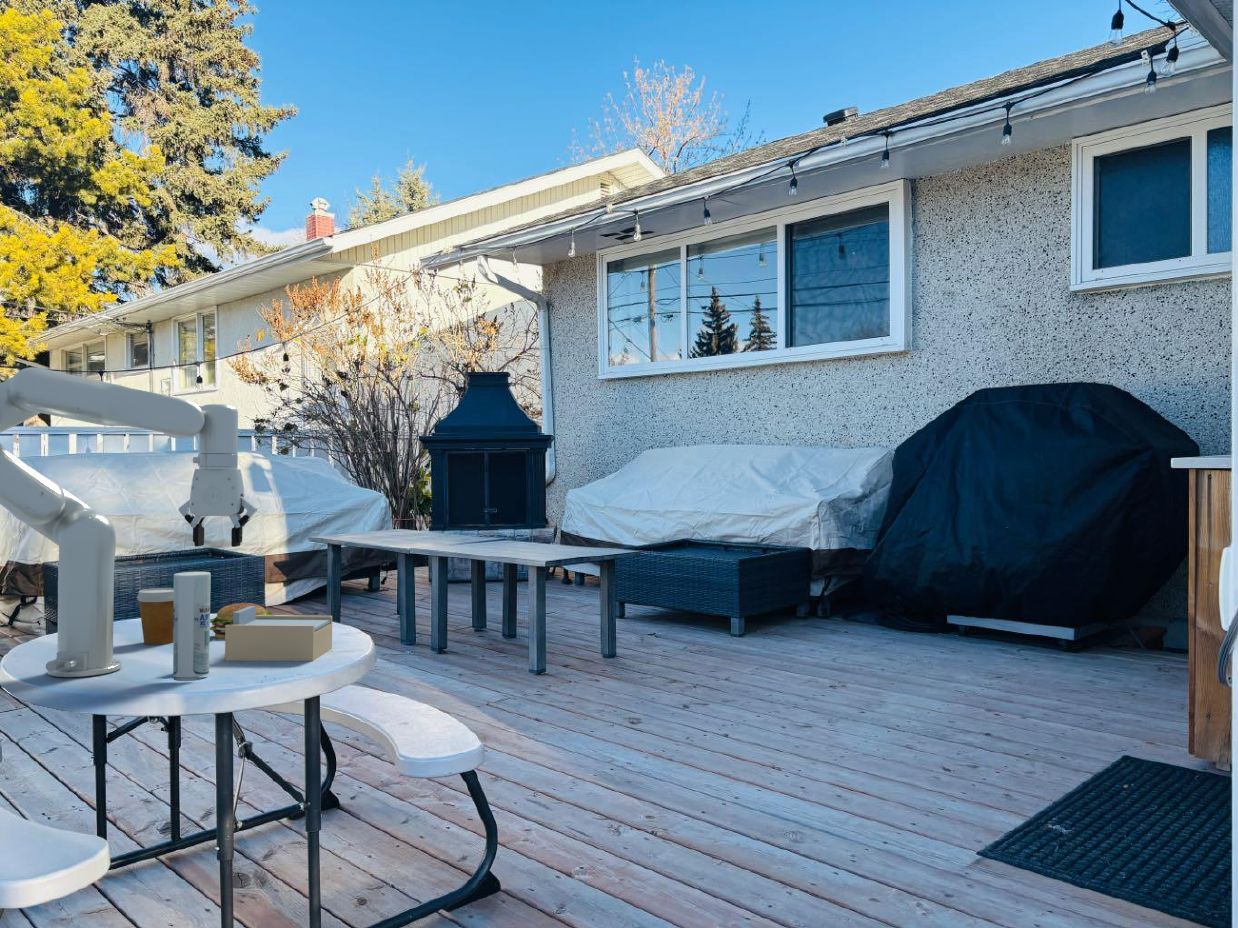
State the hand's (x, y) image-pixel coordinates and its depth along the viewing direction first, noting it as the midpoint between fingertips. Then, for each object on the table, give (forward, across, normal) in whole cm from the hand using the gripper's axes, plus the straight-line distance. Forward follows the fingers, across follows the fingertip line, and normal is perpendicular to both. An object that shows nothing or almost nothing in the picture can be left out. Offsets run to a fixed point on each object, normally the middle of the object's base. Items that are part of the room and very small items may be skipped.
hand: (217, 545), depth 194 cm
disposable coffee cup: (+24, -20, +16) cm, 35 cm away
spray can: (+24, +3, -19) cm, 30 cm away
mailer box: (+24, +14, 0) cm, 27 cm away
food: (+24, -4, +24) cm, 35 cm away
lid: (+17, +14, 0) cm, 22 cm away
